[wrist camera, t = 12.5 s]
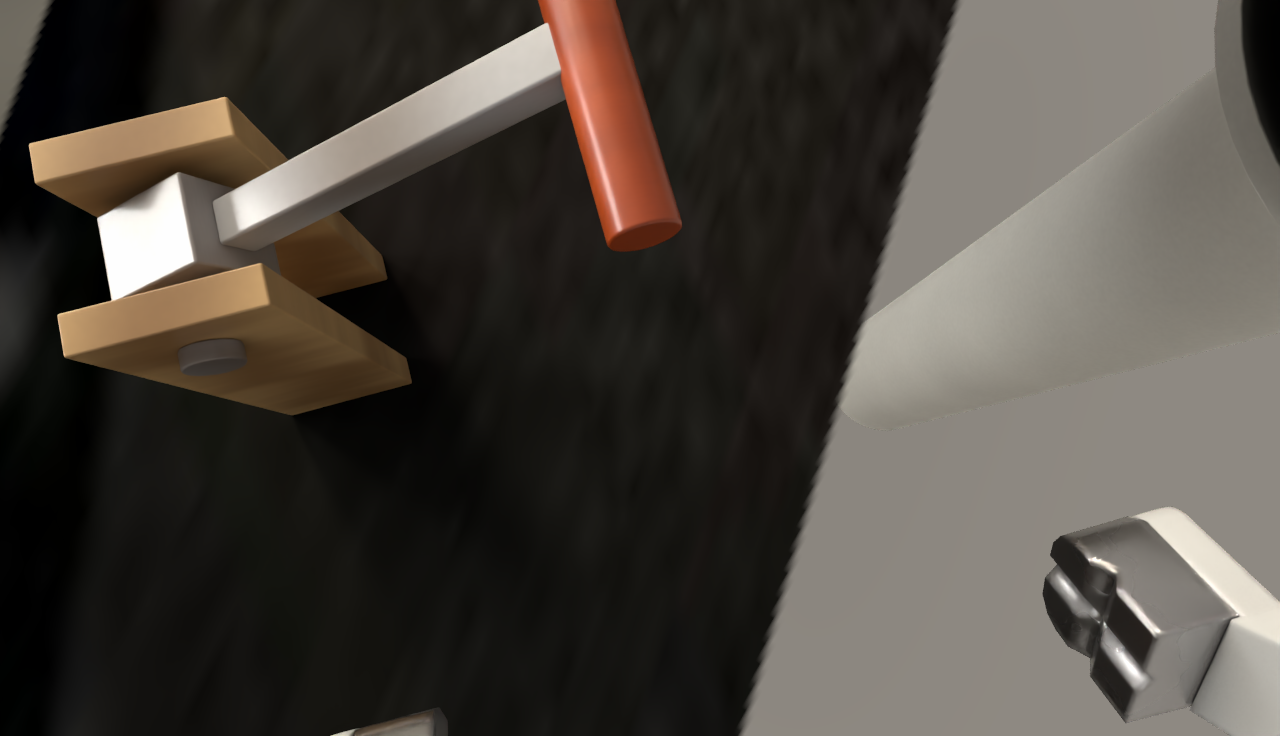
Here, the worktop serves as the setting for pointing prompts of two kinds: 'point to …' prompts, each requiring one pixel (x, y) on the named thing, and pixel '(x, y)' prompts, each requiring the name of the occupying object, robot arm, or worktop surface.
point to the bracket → (221, 275)
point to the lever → (417, 157)
